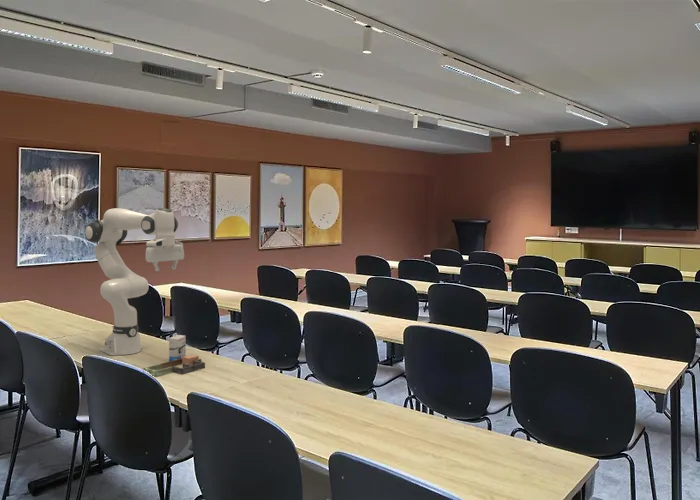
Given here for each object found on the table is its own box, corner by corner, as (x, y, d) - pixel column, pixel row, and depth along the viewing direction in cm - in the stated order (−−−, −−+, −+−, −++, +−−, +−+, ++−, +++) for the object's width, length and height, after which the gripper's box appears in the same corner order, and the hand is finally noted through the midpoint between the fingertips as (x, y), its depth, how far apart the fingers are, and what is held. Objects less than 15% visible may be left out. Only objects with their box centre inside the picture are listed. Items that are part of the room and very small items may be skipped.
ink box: (178, 362, 284) (177, 338, 283) (168, 361, 285) (168, 338, 284) (186, 358, 293) (186, 335, 292) (177, 357, 294) (176, 334, 293)
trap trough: (143, 373, 266) (143, 368, 266) (189, 361, 287) (189, 356, 287) (164, 379, 257) (164, 373, 257) (209, 366, 278) (209, 361, 278)
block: (182, 365, 281) (182, 356, 280) (192, 362, 286) (191, 354, 285) (188, 366, 278) (188, 358, 278) (198, 364, 283) (198, 355, 282)
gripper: (178, 240, 292) (179, 268, 293) (143, 242, 275) (143, 271, 276) (186, 241, 288) (187, 268, 289) (151, 243, 272) (152, 272, 273)
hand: (165, 270), depth 283 cm, fingers open, 8 cm apart
